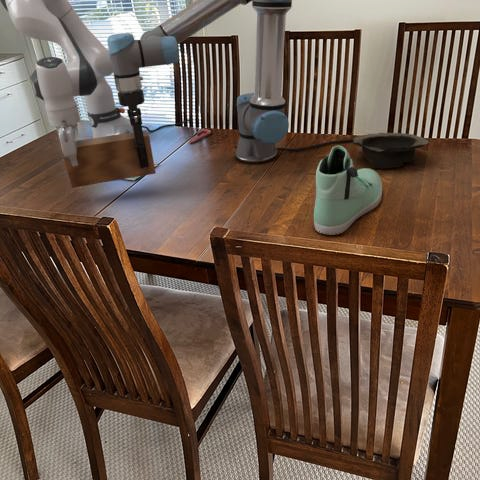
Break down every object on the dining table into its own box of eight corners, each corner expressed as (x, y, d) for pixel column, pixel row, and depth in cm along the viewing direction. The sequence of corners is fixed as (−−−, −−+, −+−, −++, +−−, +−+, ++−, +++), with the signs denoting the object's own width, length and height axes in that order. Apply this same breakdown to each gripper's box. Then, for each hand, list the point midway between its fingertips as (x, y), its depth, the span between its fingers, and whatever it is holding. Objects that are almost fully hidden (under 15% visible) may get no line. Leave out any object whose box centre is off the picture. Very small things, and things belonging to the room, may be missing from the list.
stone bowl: (386, 179, 152) (387, 151, 148) (337, 161, 173) (337, 136, 168) (443, 160, 161) (445, 133, 157) (390, 145, 182) (391, 120, 177)
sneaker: (389, 187, 148) (396, 123, 138) (356, 242, 123) (361, 168, 112) (346, 181, 154) (350, 119, 144) (306, 232, 129) (307, 161, 118)
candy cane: (180, 142, 197) (179, 139, 196) (203, 131, 207) (202, 127, 206) (191, 144, 194) (191, 141, 193) (214, 133, 204) (213, 129, 203)
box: (71, 188, 149) (61, 149, 142) (72, 180, 154) (62, 142, 147) (155, 173, 154) (149, 135, 147) (153, 166, 159) (146, 129, 152)
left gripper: (74, 125, 133) (85, 171, 140) (75, 106, 150) (86, 148, 157) (50, 128, 132) (63, 175, 139) (54, 109, 149) (66, 151, 156)
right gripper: (145, 96, 135) (159, 172, 147) (139, 81, 151) (152, 151, 163) (118, 100, 133) (134, 176, 145) (115, 85, 149) (129, 154, 161)
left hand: (75, 160), depth 148 cm, fingers closed on box, 6 cm apart
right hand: (143, 162), depth 154 cm, fingers closed on box, 6 cm apart
